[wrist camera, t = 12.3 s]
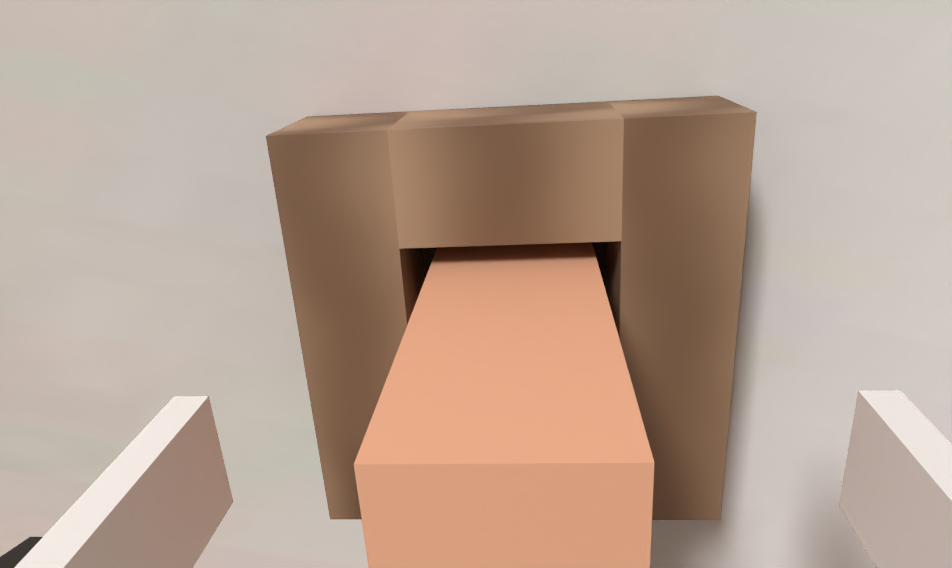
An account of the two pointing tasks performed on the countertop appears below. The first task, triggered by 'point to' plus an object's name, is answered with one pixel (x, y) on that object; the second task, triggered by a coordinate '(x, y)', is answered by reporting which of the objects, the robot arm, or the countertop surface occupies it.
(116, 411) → the countertop surface
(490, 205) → the socket
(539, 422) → the peg
